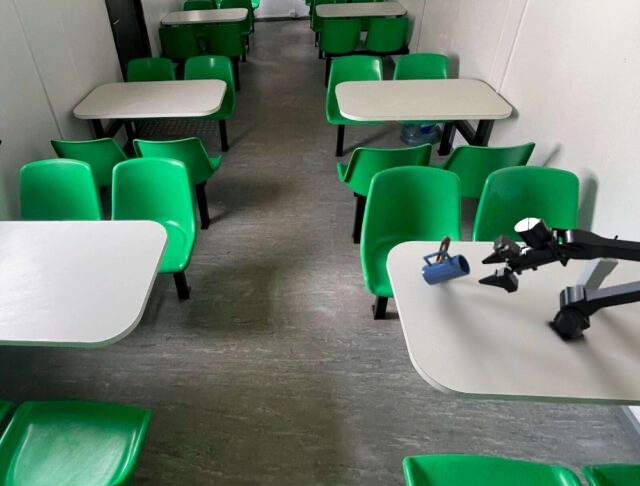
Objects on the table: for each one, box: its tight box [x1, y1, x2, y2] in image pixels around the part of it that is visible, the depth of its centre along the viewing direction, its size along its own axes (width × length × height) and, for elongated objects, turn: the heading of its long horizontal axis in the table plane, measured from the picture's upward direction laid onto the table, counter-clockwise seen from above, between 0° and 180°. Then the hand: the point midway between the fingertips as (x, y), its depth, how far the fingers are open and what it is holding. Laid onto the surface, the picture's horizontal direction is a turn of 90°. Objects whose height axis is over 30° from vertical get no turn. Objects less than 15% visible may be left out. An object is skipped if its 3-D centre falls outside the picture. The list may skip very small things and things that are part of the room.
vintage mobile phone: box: [574, 235, 619, 290], centre depth 126 cm, size 4×5×25 cm
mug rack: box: [435, 235, 452, 264], centre depth 135 cm, size 6×14×17 cm, turn 151°
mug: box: [421, 250, 471, 286], centre depth 132 cm, size 10×6×12 cm
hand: (480, 272), depth 126 cm, fingers open, 9 cm apart
